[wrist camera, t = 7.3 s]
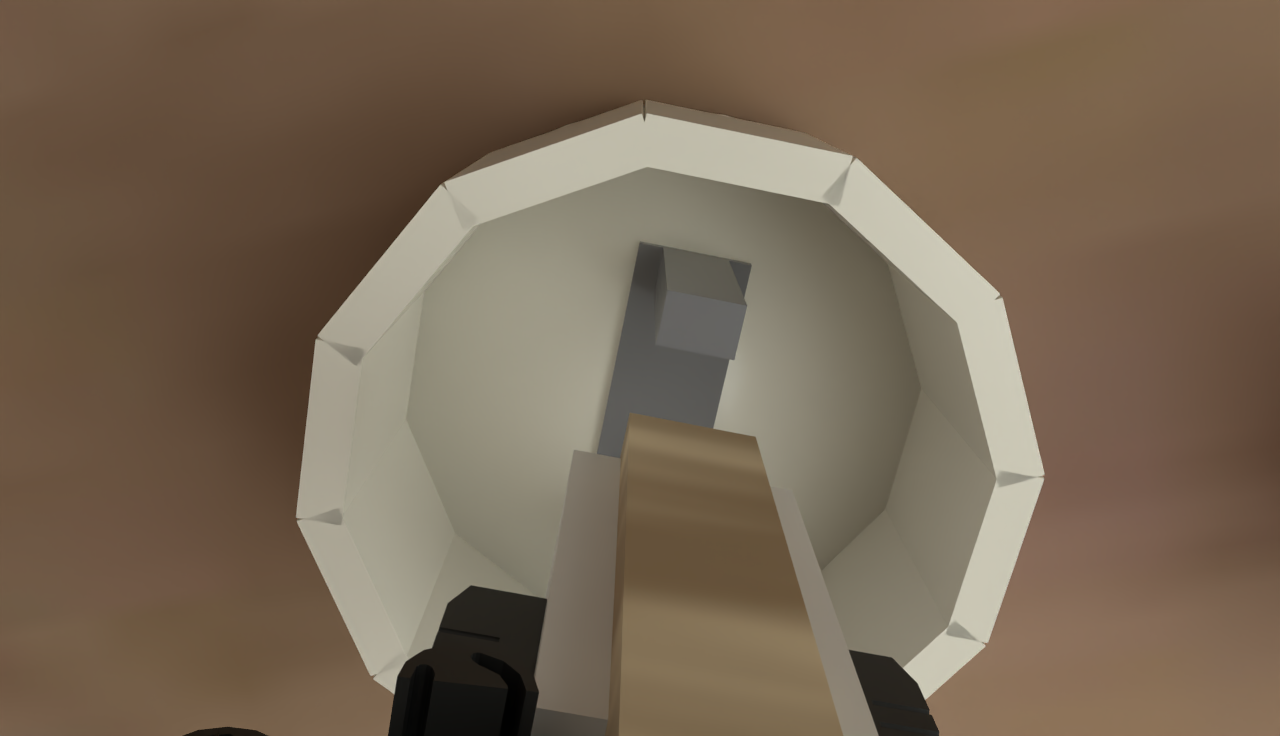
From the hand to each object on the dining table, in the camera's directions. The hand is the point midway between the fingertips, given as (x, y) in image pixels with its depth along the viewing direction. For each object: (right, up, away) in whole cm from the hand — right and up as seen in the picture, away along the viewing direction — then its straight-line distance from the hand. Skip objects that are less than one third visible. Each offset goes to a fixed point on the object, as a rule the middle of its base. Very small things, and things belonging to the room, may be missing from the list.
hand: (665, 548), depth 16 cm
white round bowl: (0, +2, +7) cm, 7 cm away
